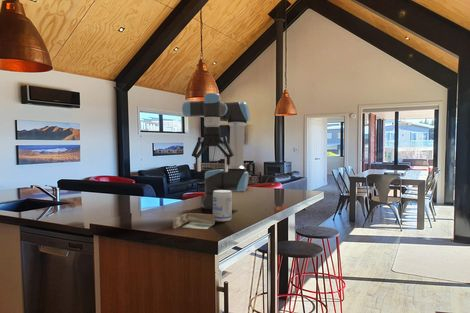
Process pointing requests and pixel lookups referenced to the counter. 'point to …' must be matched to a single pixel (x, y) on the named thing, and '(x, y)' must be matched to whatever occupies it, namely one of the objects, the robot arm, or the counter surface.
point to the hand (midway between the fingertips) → (212, 171)
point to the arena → (195, 221)
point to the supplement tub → (222, 205)
